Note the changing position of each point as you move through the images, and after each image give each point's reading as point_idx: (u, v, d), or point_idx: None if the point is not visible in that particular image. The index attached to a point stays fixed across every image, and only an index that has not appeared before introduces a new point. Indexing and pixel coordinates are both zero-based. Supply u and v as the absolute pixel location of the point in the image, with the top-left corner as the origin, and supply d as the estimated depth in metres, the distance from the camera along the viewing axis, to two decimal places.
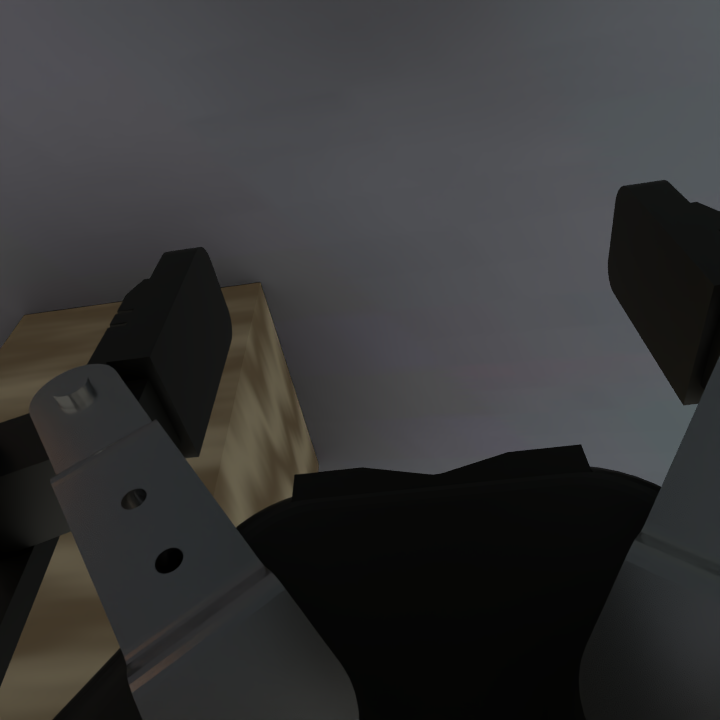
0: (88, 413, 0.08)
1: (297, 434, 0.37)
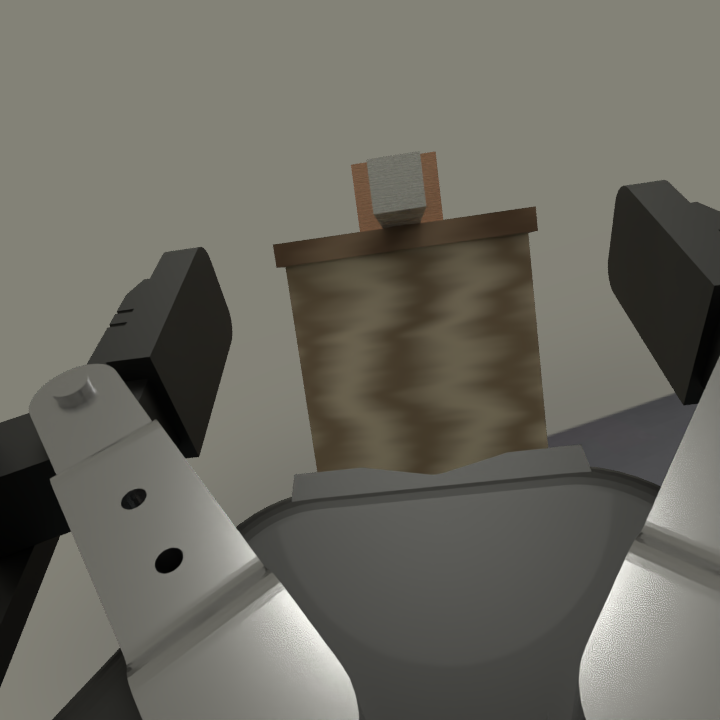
0: (88, 414, 0.08)
1: None
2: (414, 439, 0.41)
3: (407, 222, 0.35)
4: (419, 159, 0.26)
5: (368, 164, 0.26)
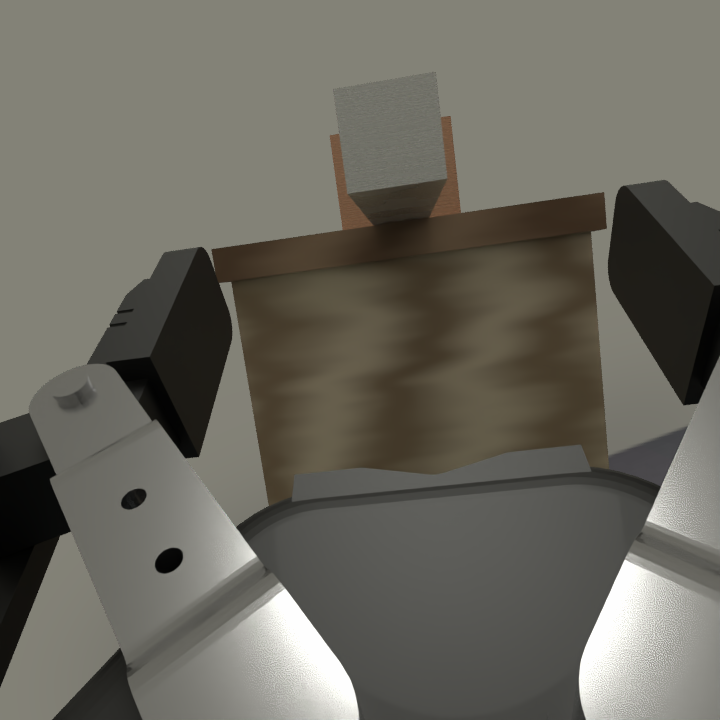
0: (88, 414, 0.08)
1: None
2: None
3: (410, 215, 0.23)
4: (434, 88, 0.14)
5: (337, 98, 0.14)
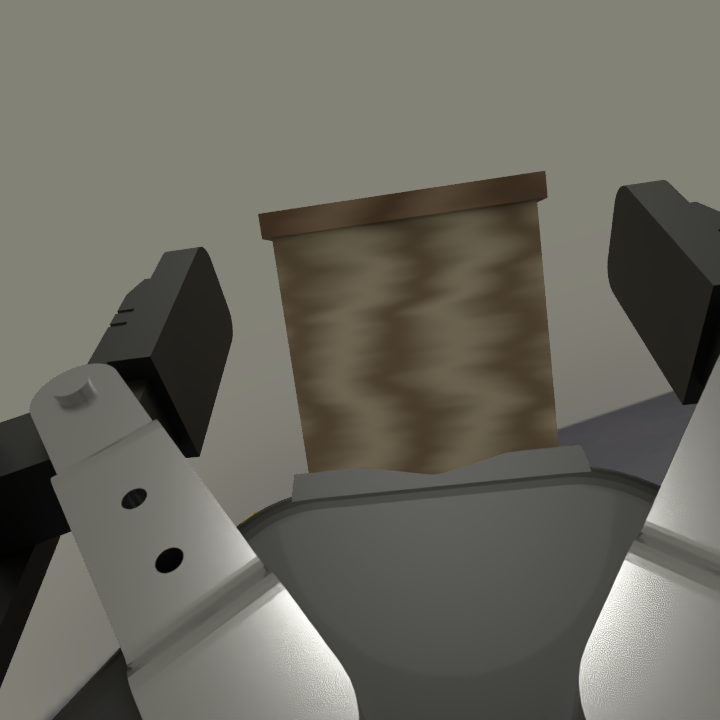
0: (89, 414, 0.08)
1: None
2: (412, 427, 0.37)
3: None
4: None
5: None
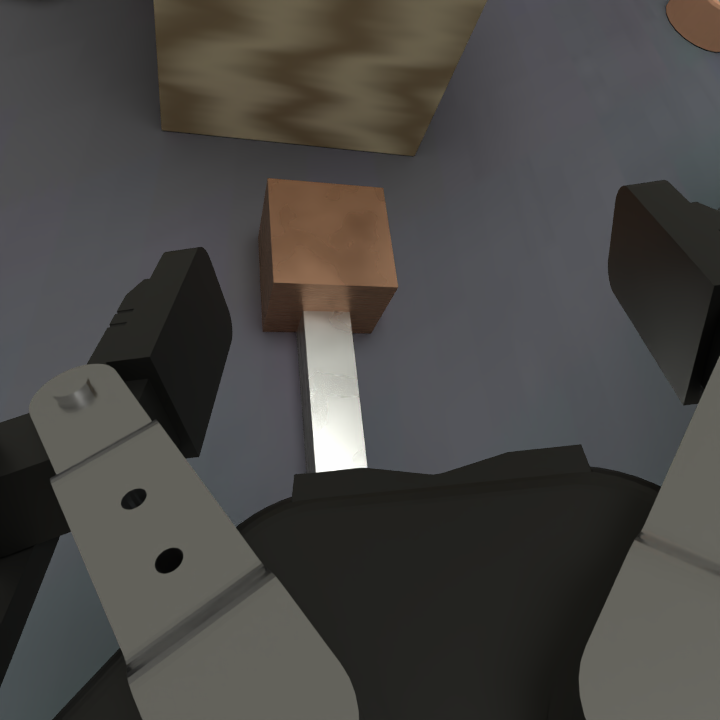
0: (88, 413, 0.08)
1: (268, 110, 0.34)
2: None
3: None
4: None
5: None
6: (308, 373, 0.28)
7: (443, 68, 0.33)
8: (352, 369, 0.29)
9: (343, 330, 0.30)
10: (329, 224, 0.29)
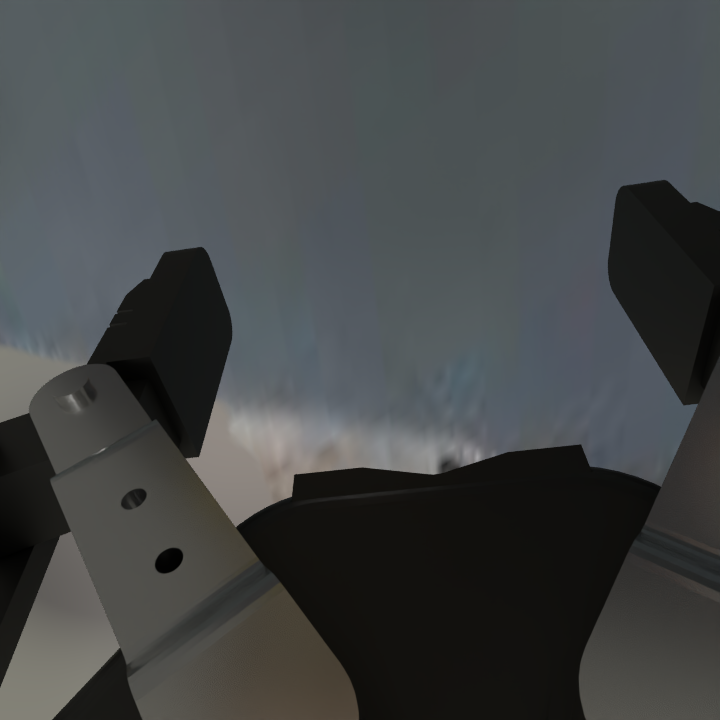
0: (89, 414, 0.08)
1: None
2: None
3: None
4: None
5: None
6: None
7: None
8: None
9: None
10: None
